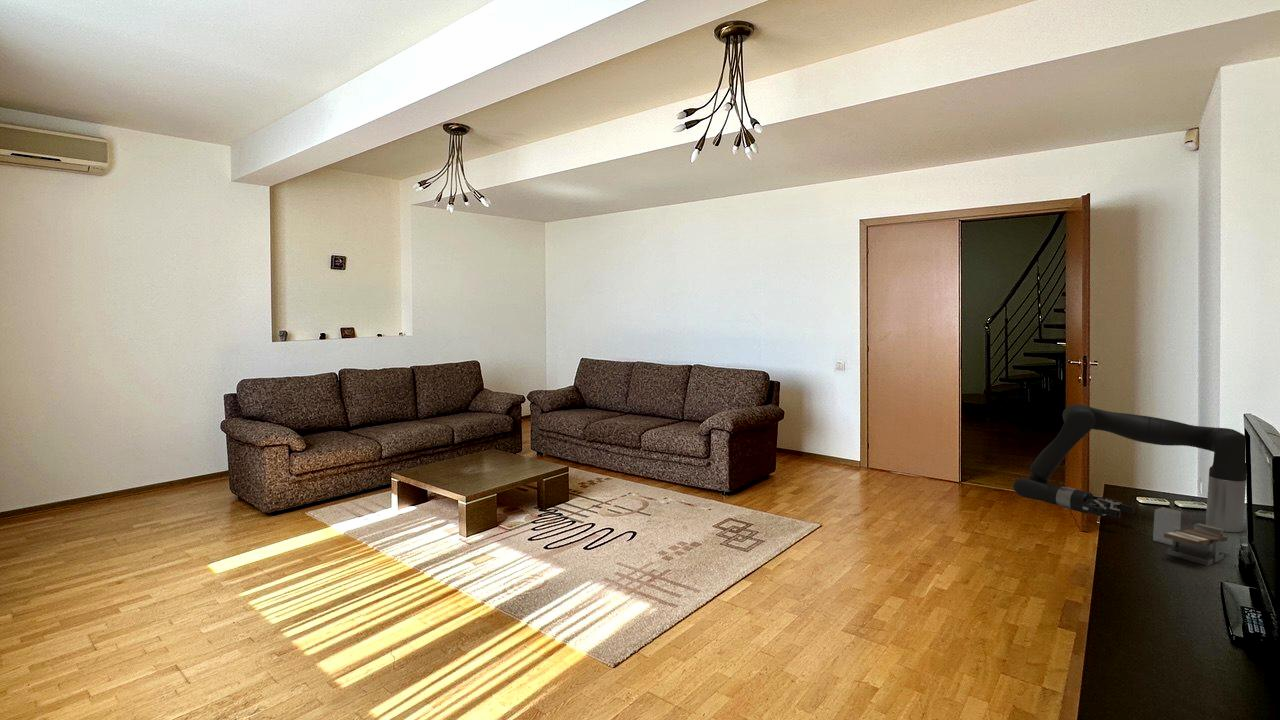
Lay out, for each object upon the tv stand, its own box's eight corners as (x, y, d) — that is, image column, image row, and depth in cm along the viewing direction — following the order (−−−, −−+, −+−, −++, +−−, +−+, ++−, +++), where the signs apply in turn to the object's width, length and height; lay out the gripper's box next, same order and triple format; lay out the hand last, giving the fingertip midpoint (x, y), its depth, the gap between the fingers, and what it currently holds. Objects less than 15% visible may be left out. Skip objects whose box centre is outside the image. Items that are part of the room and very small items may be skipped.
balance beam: (1194, 532, 200) (1195, 522, 200) (1227, 540, 193) (1228, 530, 193) (1163, 537, 190) (1165, 526, 190) (1197, 546, 183) (1198, 535, 183)
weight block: (1160, 537, 208) (1162, 507, 207) (1179, 542, 203) (1181, 511, 202) (1152, 540, 205) (1154, 509, 204) (1171, 545, 201) (1173, 514, 200)
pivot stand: (1181, 547, 199) (1182, 527, 198) (1224, 558, 190) (1225, 537, 189) (1165, 553, 194) (1167, 533, 194) (1208, 566, 185) (1210, 544, 185)
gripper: (1063, 492, 224) (1116, 505, 210) (1086, 486, 230) (1138, 498, 216) (1062, 513, 224) (1115, 527, 210) (1085, 506, 231) (1137, 519, 217)
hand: (1126, 512), depth 213 cm, fingers open, 8 cm apart
